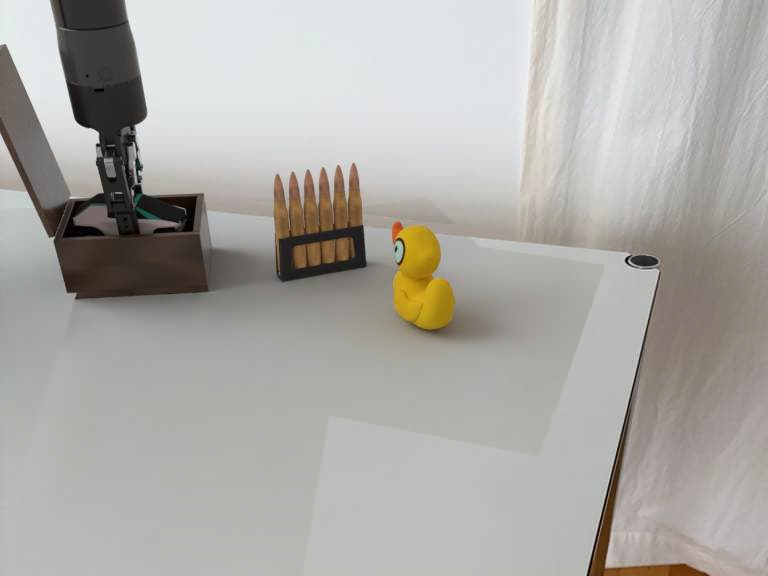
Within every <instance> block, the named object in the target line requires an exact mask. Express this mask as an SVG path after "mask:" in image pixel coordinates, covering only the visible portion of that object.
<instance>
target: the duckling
mask: <svg viewBox="0 0 768 576" xmlns="http://www.w3.org/2000/svg"><path fill="white" fill-rule="evenodd" d="M391 240H392V245H393V255H394V260H395V264H396V265H397V268H398V269H399V270H397V272H396V273H395V275H394V279H393V282H392V291H393V306H394V308H395V311H396V313H397V314H398V315H399V316H400V317H401V318H402V319H403V320H404V321H405V322H411V323H412V324H414V325H415V326H416V327H418V328H420V329H423V330H438V329H441V328H443V327H445V326H447V325H448V324H450V323H451V321H452V319H453V317H454V311H455V310H454V309H455V302H456V297H455V295H454V294H455V293H454V290H453V288H452V286H451V284H450V282H449V280H447V279H446V278H444V277H437V278H434V276H433V274H434V273H435V272H436V271H437V269H438V268H439V266H440V263H441V258H442V250H441V246H440V242H439V240H438V238H437V236H436V234H435V232H433V231H432V230H431V229H430V228H428V227H427V226H424V225H410V226H406V227H404V226H403V224H402V223H401V221H395V222H393V225H392V228H391Z"/></svg>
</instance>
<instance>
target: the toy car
mask: <svg viewBox="0 0 768 576" xmlns="http://www.w3.org/2000/svg"><path fill="white" fill-rule="evenodd" d="M115 195H116V200H125V199H124V195H123V194H122V193H121V192H115ZM89 198H90V199H89V200H87V201H86V202H85V203H83V204H81V205H80V206H79V208H78V211H77V214H76V216H75V217H73V221H74V225H75V227H76V228H77V227H78V228H79V229H80V231H79V233H80V235H79V237H91V236H112V235H119V232H118V227H117V223H116V218H115V213H109V212H108V210H107V207H106V205H107V204H106V200H105V196H104V192H99V193H98V192H97V193H96V194H95V195H93V196H92V197H89ZM134 199H135V203H136V214H137V219H138V224H139V229H140V234H156V233H178V232H190V230H191V228H192V222H191V219H190V217H189V216H188V215H187V214H186V210H185V208H181V207H177V206H173V205H170V204H168V203H165V202H163V201H161V200H158V199H156V198H153V197H150V196H148V195H147V194H145V193H143V194H134Z"/></svg>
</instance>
